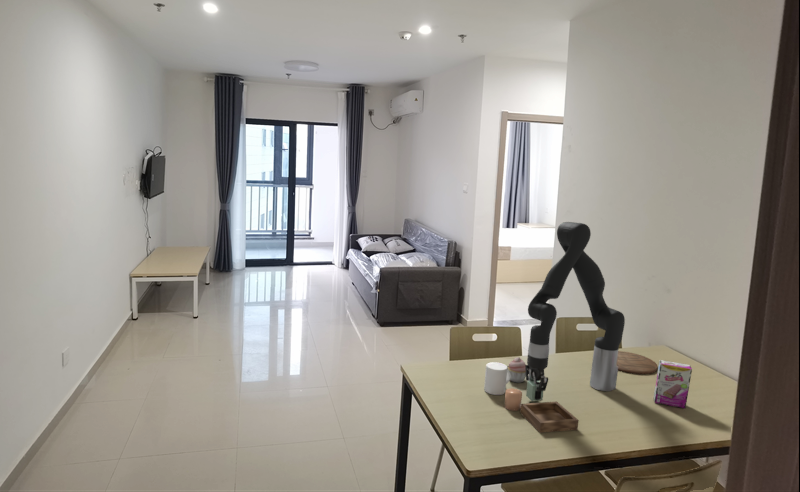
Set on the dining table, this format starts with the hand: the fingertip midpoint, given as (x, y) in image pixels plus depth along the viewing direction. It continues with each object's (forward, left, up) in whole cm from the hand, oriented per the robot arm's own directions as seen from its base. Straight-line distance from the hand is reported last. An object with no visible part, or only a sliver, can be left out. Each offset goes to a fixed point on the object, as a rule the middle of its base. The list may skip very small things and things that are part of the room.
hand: (534, 396), depth 207 cm
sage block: (0, 0, -1) cm, 1 cm away
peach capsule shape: (+10, +3, -2) cm, 11 cm away
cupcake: (-3, -20, -3) cm, 20 cm away
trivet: (-65, -31, -3) cm, 72 cm away
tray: (+2, +15, -2) cm, 15 cm away
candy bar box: (-54, +9, -3) cm, 54 cm away
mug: (+9, -12, -3) cm, 15 cm away
